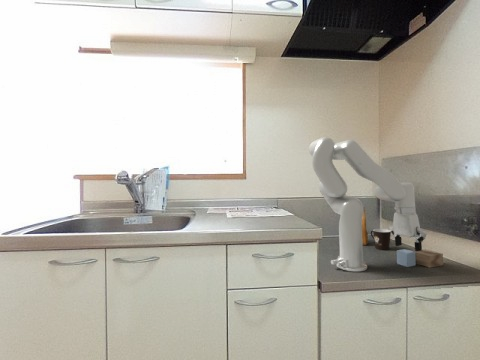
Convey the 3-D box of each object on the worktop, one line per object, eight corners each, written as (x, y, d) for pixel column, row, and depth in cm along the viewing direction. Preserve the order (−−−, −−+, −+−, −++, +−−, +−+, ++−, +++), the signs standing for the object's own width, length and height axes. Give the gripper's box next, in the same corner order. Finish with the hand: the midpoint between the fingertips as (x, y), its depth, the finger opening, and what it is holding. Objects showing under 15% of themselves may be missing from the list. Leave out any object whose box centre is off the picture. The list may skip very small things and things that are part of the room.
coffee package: (366, 246, 147) (365, 207, 147) (343, 244, 154) (342, 207, 154) (369, 242, 155) (368, 205, 155) (347, 240, 162) (346, 205, 162)
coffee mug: (394, 251, 137) (393, 232, 137) (376, 250, 139) (375, 232, 139) (385, 245, 149) (385, 227, 149) (369, 245, 150) (369, 227, 150)
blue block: (407, 267, 114) (406, 253, 114) (397, 263, 119) (396, 250, 119) (415, 265, 116) (415, 252, 116) (405, 262, 121) (405, 249, 121)
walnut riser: (429, 267, 112) (429, 256, 112) (412, 262, 120) (412, 251, 120) (443, 265, 115) (442, 253, 115) (425, 259, 123) (424, 249, 122)
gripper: (382, 209, 124) (385, 245, 125) (417, 213, 108) (420, 254, 108) (395, 207, 127) (397, 242, 127) (430, 211, 110) (433, 251, 110)
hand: (408, 248), depth 117 cm, fingers open, 9 cm apart
